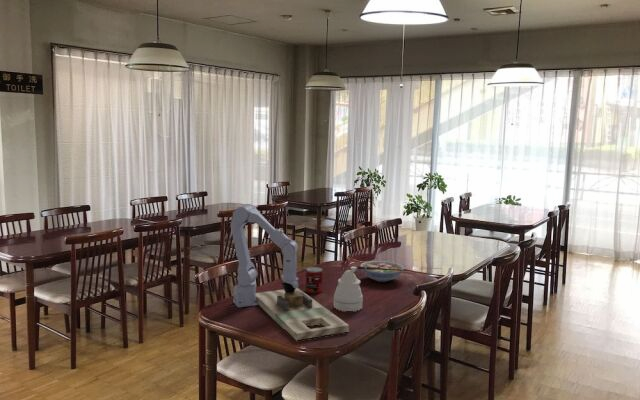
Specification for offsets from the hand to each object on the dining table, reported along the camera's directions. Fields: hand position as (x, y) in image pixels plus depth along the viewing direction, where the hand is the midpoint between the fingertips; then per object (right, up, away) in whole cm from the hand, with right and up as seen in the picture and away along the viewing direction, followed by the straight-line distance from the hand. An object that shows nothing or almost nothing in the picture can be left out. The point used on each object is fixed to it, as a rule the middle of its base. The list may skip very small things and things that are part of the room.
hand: (289, 299), depth 226 cm
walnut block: (+2, -2, -4) cm, 5 cm away
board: (+4, -5, -7) cm, 10 cm away
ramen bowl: (+46, +1, +46) cm, 65 cm away
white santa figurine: (+26, -4, +4) cm, 26 cm away
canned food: (+10, -1, +24) cm, 27 cm away
